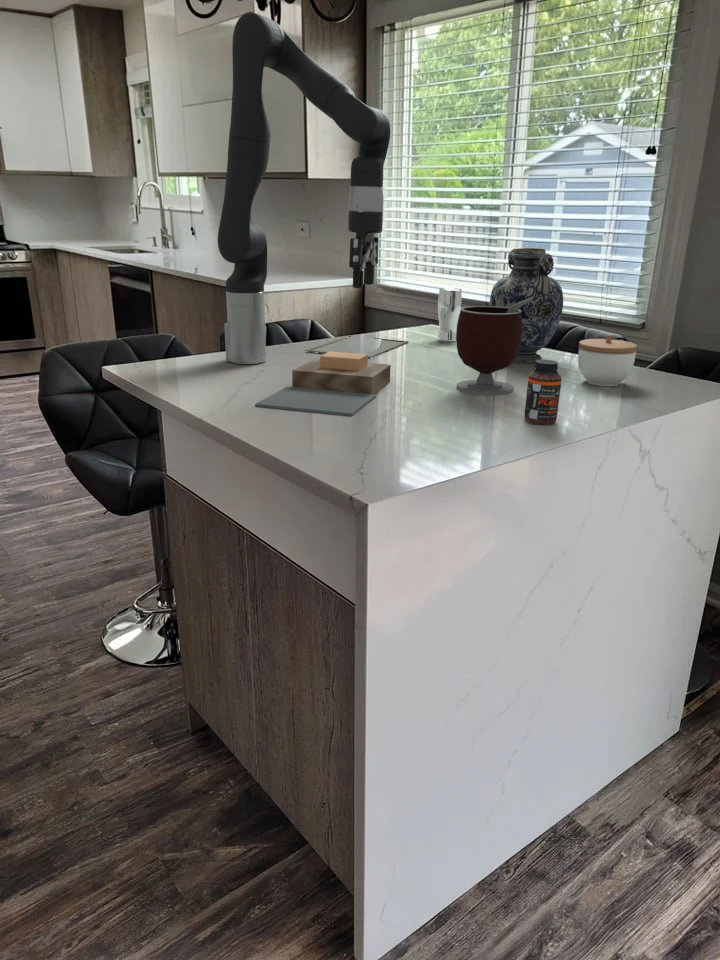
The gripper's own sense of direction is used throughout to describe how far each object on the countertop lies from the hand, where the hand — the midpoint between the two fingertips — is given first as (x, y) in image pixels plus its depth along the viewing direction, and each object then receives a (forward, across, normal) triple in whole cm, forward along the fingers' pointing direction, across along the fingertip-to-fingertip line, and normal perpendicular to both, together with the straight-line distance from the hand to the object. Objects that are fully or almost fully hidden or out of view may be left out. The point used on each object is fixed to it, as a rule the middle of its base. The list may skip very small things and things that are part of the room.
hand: (363, 286), depth 164 cm
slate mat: (+20, +27, -1) cm, 34 cm away
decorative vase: (+20, -35, +34) cm, 53 cm away
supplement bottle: (+20, +26, +43) cm, 54 cm away
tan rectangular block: (+15, +10, -1) cm, 18 cm away
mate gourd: (+20, +3, +30) cm, 37 cm away
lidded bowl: (+20, -12, +55) cm, 59 cm away
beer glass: (+20, -57, +10) cm, 61 cm away
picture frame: (+21, -35, -11) cm, 43 cm away
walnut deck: (+20, +11, -1) cm, 23 cm away
